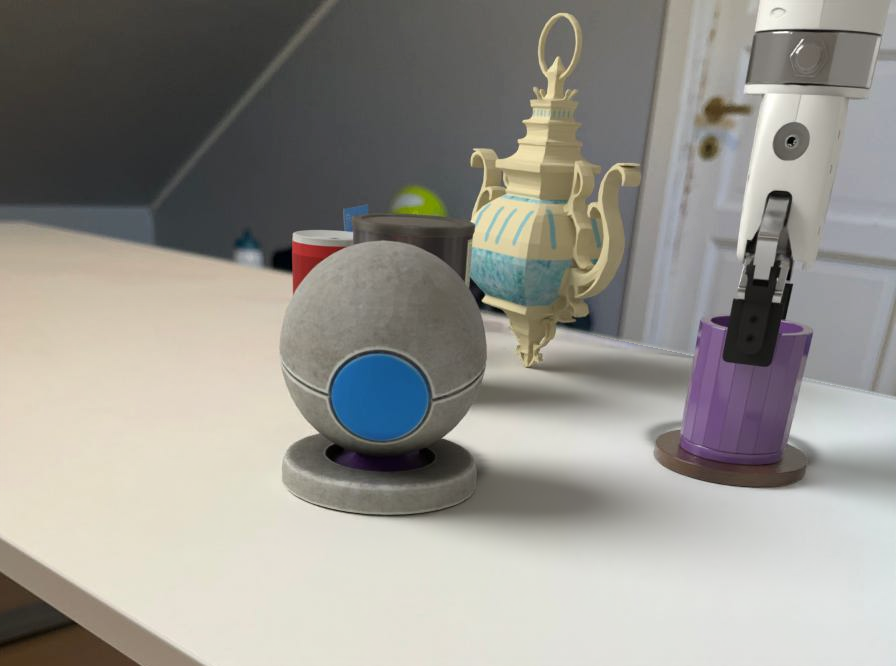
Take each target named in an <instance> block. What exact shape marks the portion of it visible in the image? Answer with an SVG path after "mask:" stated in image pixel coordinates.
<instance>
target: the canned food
mask: <svg viewBox="0 0 896 666" xmlns="http://www.w3.org/2000/svg"><path fill="white" fill-rule="evenodd" d="M291 239H292V240H291V243H292V245H291V247H292V248H291V249H292V250H291V258H292V259H291V262H292V263H291V264H292V265H291V266H292V270H291V271H292V296H293V295H294V293H295V291H296V289H297V288H298V286H299V285H300V283H301V282H302V281H303V279H304V278H305V277H306V276H307V275H308V273H309V272H310V271H311V270H312V269H313V268H314V267H315V266H316V265H317V264H319V263H320V262H321V261H323V260H324V259H326V258H327V257H329V256H330V255H332V254H333V253H335V252H337V251H340V250H342V249H344V248H346V247H349V246H352V245H353V232H347V231H344V230H333V229H331V230H330V229H308V230H298V231H294V232H293V233H292V238H291Z"/></svg>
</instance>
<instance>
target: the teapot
mask: <svg viewBox="0 0 896 666" xmlns="http://www.w3.org/2000/svg"><path fill="white" fill-rule="evenodd" d="M563 17H564V18H566V19H567V20H568V21H569V22H570V24H571V26H572V27H573V31H574V35H575V48H574V52H573V56H572V59H571V61H570V64H569V66H568V67H567V68H565V66H564V64H563V61H562V58H561V56H556V58H555V59H554V61H553V63H552V65H550V67H549V68H548V66H547V64H546V63H547V62H546V59H545V46H546V41H547V37H548V35H549V32H550V30H551V28H552V27H553V26H554V25H555V23H556V22H557V21H558V20H560V19H561V18H563ZM582 32H583V31H582V28H581V25H580V23H579V21H578V19H576V16H574V15H573V14H570V13H568V12H558V13H557V14H555V15H553V16H551V17H550V19H548V21H547V22H546V23H545V25H544V27H543V29H542V31H541V34H540V37H539V40H538V48H537V55H538V65H539V67H540V70H541V72H542V74H543V75H544V77H546V78H547V90H546V91H545V89H544V88H540V89H539V87H537V86H533V89H532V91H533V92H534V94H535V95H536V99H530V100H529V102H530V107H531V108H532V115H531V117H530V118H528V119H523V120H522V124H524V125H525V128H526V135H525V137H523V138H519V139H517V144H518V149H517V150H516V152H515V153H513V154H512V155H510V156H508V157H505V158H499V156H498V155H497V153H496V151H495V150H493V148H482V147H481V148H476V147H475V148H473V149H472V150H473V151H474V152H473V153H472V154H471V157H470V167H471V168H478V169H481V168H483V181H482V184H481V188H480V191H479V193H478V196H477V198H476V201H475V204H474V207H473V209H472V212H471V220H469V221H470V222H472V223H474V224H475V232H474V234H473V242H472V255H471V269H470V280H472V281H473V283H475V284H476V286H477V287H478V288H479V289H480V290H481V291H482V292H483V294H484V297H483V298H482V299H481V302H482V303H483V304H486V305H488V306H491V307H493V308H497V309H500V310H502V311H503V313H505V315H506V317H507V318H508V320H509V327H510V328H511V331H512V333H513V335H514V337H515V339H516V340H517V342H518V343H519V344H518V345H516V348H515V351H514V354H515V355H517V356H518V357H519V359H520V361H521V363H522V364H523V366H524V367H525V368H530V367H533V366H535V365H536V364H537V363H542V362H543V361H544V359H543V357H544V353H542V352H541V351H540V350H541V349H542V348H544V347H546V346H547V345H548V344H549V343H550V342H551V341H552V340H553V339H554V338H555V337H556V333H557V323H558V322H559V323H562V324H563V323H566V324H567V323H575V322H577V320H576V318H583V317H587V316H588V315H590V309H589V306H588V304H587V302H585V301H586V300H588V299H589V298H592V297H594V296H597V295H599V294H600V293H602V292H603V291H604V290H605V289H607V288H608V286H609V285H610V283H611V282H612V281H613V280H614V278H615V276H616V274H617V272H618V269H619V267H620V265H621V263H622V261H623V257H624V256H623V255H624V253H625V245H626V236H625V231H624V230H625V229H624V224H623V220H622V217H621V216H622V215H621V212H620V207H619V206H620V205H619V191H620V186H621V187H628V188H630V187H631V188H632V187H640V186H641V182H642V171H641V170H640V168H638V167H641V166H642V165H641V164H640V163H635V162H617V163H615V164H614V165H612V166H611V167H610V168H609V169H608V171H606V173H605V174H604V176H603V178H602V180H601V182H600V185H599V190H598V197H597V201H594V202H590V203H589V204H588V203H587V201H586V199H588V198H589V197H590V196H591V195H592V193H593V191H594V189H595V183H596V181H595V176H596V175H597V176H598V175H599V174H601V173H602V166H601V165H597V164H593V163H591V162H589V161H587V160H586V158H584V157H583V156H582V152H581V148H582V147H583V146H584V145H583V144H584V143H583V142H582V141H579V140H578V139H576V134H577V133H576V132H577V130H578V129H579V128H580V127H581V126H583V123H582V122H579V121H576V120H575V118H574V113H575V110H577V107H578V105H579V104H580V101H576V100H573V99H574V97H575V96H576V95H577V94H578V93H579V89H576V88H575V89H570V88H569V89H567V90H566V91H565V93H564V86H565V82H566V79H567V78H568V77H570V76H571V75H572V73H573V72H574V71H575V69H576V67H577V65H578V63H579V61H580V59H581V53H582V50H583V33H582ZM502 172H503V173H502ZM502 180H503V184H504V186H505V187H504V186H501V184H502V183H501V182H502Z"/></svg>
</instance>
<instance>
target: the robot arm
mask: <svg viewBox="0 0 896 666" xmlns="http://www.w3.org/2000/svg"><path fill="white" fill-rule="evenodd" d="M891 1H892V0H759V2H758V3H759V4H758V10H757V15H756V20H755V27H754V34H753V36H752V43H751V48H750V54H749V59H748V64H747V70H746V75H745V76H746V77H745V82H744V87H743V93H742V94H743V95H744V96H745V95H746V96H754V97H755V96H756V97H761V100H760V105H759V109H758V115H757V121H756V126H755V132H754V137H753V140H752V141H753V142H752V147H751V153H750V157H749V164H748V170H747V175H746V181H745V188H744V193H743V199H742V207H741V214H740V222H739V229H738V238H737V246H736V257H735V258H736V259H737V261H738V262H740V264H742V265H743V267H742V271H741V275H740V279H739V283H738V287H737V292H736V298H735V297H734V298H733V299H732V303H731V308H730V313H729V314H730V318H729V323H728V329H727V334H726V339H725V344H724V350H723V355H722V358H723V360H724V361H725V362H729V363H737V364H745V365H753V366H761V367H768V366H769V365H771V363H772V361H773V356H774V352H775V347H776V342H777V338H778V333H779V328H780V324H781V319H785V320H787V316H788V310H789V306H790V301H791V297H792V296H791V295H792V293H793V288H794V283H791V282H792V276H793V273H794V269H795V262H802V263H801V264H802V266H801V271H807V270H809V269H810V268H812V267H813V266H814V265H815V264H816V260H817V257H818V253H819V248H820V246H821V245H820V244H821V240H822V236H823V231H824V227H825V223H826V218H827V214H828V209H829V205H830V202H831V197H832V194H833V193H832V191H833V187H834V183H835V179H836V174H837V170H838V165H839V160H840V156H841V152H842V146H843V142H844V136H845V129H846V124H847V117H848V109H849V100H853V101H854V100H857V101H858V100H861V101H862V100H869V96H870V92H871V88H872V84H873V79H874V75H875V72H876V66H877V63H878V57H879V53H880V49H881V46H882V41H883V35H884V32H885V27H886V22H887V19H888V13H889V9H890V5H891Z"/></svg>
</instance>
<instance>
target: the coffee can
mask: <svg viewBox="0 0 896 666" xmlns="http://www.w3.org/2000/svg"><path fill="white" fill-rule="evenodd" d="M351 221H352V227H353V245H356V244H360V243H364V242H371V241H394V242H401V243H405V244H410V245H414V246H416V247H419V248H421V249H423V250H425V251H427V252H429V253H431V254H433V255H435V256H437V257H438V258H440V259H441V260H442V261H444V262H445V263H446V264H448V265H449V266H450V267H451V268H452V269H453V270H454V271H455V272H456V273H457V274H458V275H459V276H460V277H461V279H462V280H463V281H464V282H465V284H466V285H467V286H468V288H469V289H470V282H471V277H470V269H471V255H472V242H473V234H474V232H475V224H474V223H472V222H470V221H471V220H467V219H462V218H457V217H456V218H455V217H448V216H441V215H431V214H430V215H429V214H417V213H415V214H414V213H397V212H395V213H394V212H371V213H369V212H368V214H358V215H355V216H353V217H352V220H351Z"/></svg>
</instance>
